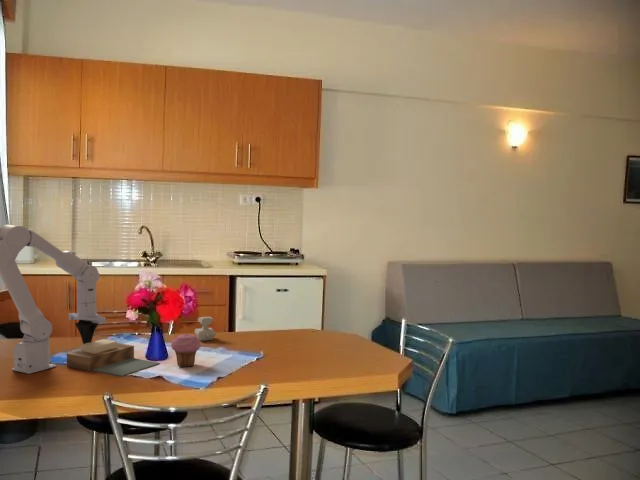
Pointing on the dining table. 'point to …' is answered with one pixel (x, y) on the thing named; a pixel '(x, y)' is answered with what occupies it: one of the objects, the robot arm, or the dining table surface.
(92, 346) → the beige flat block
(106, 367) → the mat
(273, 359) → the dining table surface
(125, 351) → the panel
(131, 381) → the dining table surface
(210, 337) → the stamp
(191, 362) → the cupcake
